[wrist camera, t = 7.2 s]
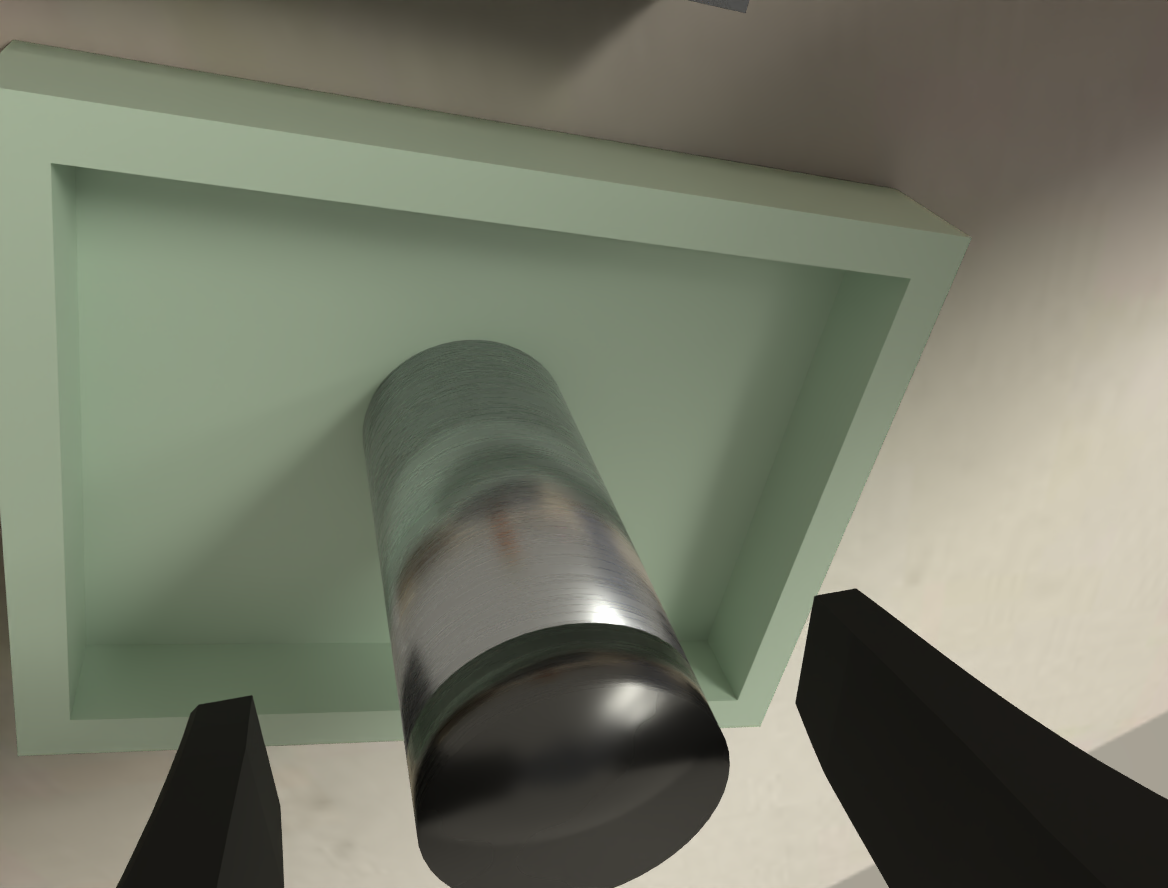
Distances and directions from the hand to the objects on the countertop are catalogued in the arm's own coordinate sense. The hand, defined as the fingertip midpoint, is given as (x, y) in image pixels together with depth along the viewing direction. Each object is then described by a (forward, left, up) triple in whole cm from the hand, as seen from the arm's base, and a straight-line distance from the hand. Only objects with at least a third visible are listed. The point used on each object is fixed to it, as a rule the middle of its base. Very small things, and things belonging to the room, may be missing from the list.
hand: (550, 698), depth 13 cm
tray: (0, 0, -7) cm, 7 cm away
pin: (0, 0, -6) cm, 6 cm away
